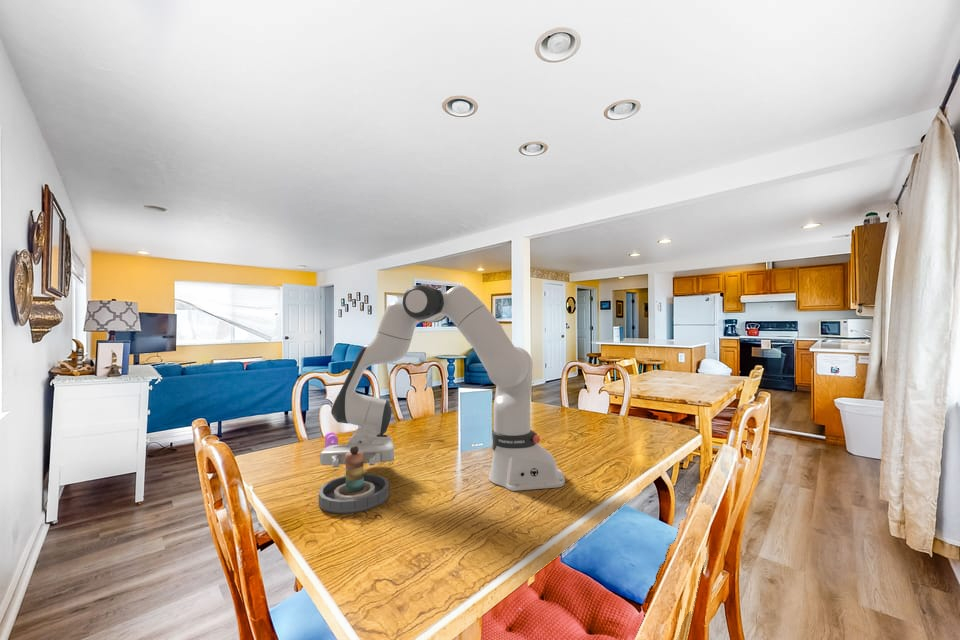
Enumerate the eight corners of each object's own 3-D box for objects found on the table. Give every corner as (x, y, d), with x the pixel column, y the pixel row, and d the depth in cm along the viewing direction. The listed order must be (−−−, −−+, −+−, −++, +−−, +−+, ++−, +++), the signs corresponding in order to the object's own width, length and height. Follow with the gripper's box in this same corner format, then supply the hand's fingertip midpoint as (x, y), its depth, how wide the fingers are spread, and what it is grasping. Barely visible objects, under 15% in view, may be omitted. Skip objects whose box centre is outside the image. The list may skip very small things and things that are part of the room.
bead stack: (369, 489, 109) (368, 442, 109) (362, 498, 103) (361, 449, 103) (348, 489, 109) (347, 442, 109) (339, 498, 103) (338, 449, 103)
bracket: (327, 456, 140) (327, 436, 140) (325, 451, 145) (324, 432, 145) (364, 450, 146) (364, 431, 146) (361, 445, 151) (361, 427, 151)
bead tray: (396, 484, 115) (396, 473, 115) (377, 514, 97) (377, 502, 97) (335, 483, 116) (335, 473, 116) (305, 513, 98) (305, 501, 98)
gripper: (326, 438, 118) (312, 453, 104) (395, 435, 121) (392, 449, 107) (326, 459, 118) (313, 477, 104) (396, 455, 120) (392, 473, 107)
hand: (353, 463), depth 105 cm, fingers open, 8 cm apart
